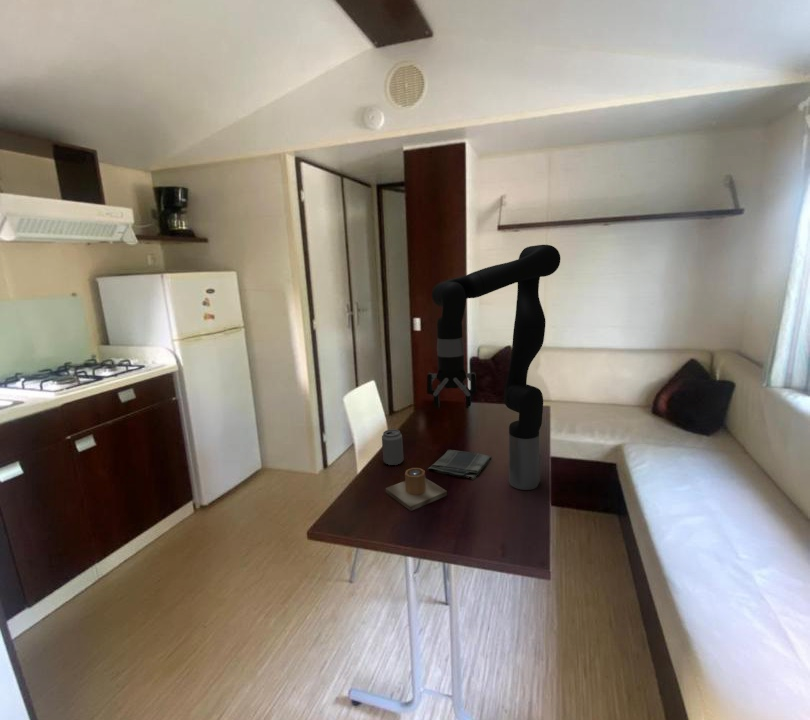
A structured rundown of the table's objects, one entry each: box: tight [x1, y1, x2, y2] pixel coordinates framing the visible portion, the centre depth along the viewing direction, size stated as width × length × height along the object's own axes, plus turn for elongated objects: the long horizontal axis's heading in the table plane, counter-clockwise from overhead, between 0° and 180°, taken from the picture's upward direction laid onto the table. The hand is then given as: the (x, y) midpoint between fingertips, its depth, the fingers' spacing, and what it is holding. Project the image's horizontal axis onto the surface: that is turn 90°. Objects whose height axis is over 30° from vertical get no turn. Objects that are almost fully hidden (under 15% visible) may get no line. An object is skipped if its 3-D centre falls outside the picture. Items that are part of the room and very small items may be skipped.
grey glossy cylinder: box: [410, 470, 420, 476], centre depth 135 cm, size 3×3×6 cm
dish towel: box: [427, 449, 493, 481], centre depth 154 cm, size 19×18×3 cm
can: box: [381, 428, 404, 466], centre depth 158 cm, size 8×8×12 cm
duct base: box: [385, 477, 448, 512], centre depth 136 cm, size 14×14×2 cm
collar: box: [404, 467, 426, 495], centre depth 135 cm, size 6×6×6 cm
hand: (452, 407), depth 125 cm, fingers open, 8 cm apart
